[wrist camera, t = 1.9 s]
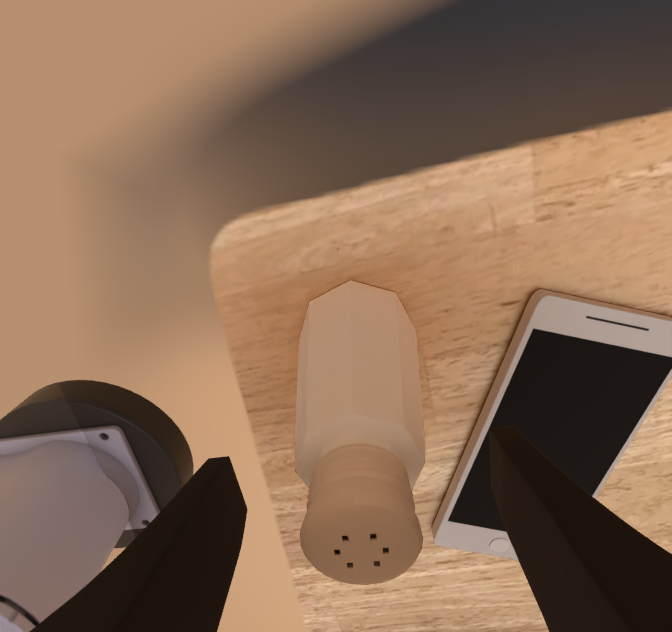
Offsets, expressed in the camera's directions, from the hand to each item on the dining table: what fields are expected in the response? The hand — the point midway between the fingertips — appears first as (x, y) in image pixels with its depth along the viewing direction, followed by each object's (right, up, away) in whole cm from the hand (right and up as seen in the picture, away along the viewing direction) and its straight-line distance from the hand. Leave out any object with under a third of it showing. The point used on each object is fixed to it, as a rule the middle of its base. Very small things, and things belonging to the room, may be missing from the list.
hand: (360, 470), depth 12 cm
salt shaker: (0, +4, +8) cm, 9 cm away
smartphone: (+10, -2, +10) cm, 14 cm away
